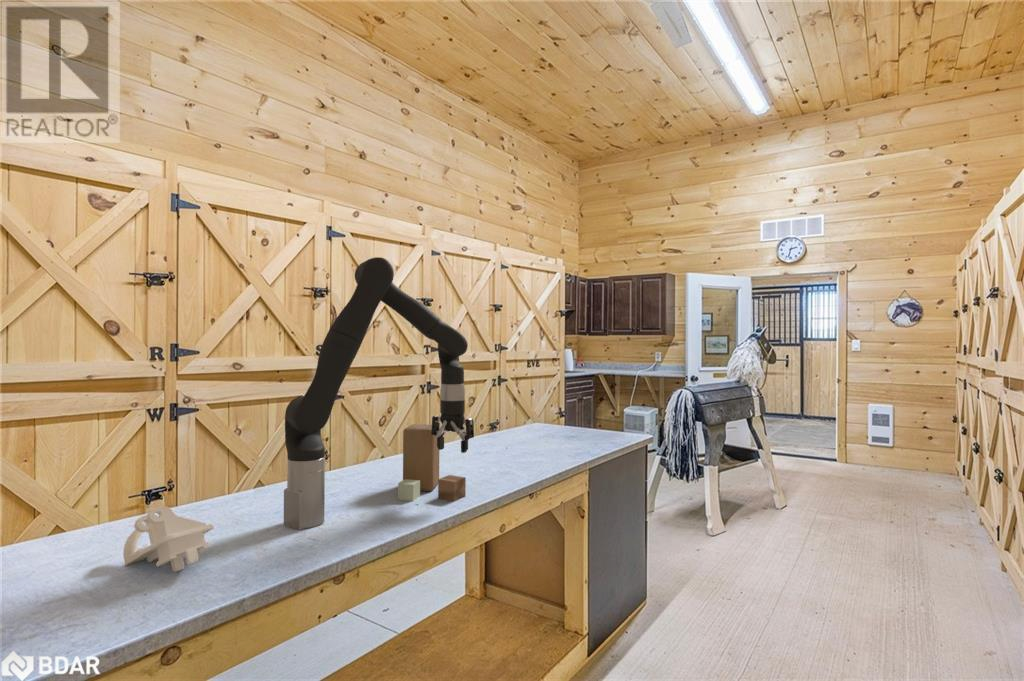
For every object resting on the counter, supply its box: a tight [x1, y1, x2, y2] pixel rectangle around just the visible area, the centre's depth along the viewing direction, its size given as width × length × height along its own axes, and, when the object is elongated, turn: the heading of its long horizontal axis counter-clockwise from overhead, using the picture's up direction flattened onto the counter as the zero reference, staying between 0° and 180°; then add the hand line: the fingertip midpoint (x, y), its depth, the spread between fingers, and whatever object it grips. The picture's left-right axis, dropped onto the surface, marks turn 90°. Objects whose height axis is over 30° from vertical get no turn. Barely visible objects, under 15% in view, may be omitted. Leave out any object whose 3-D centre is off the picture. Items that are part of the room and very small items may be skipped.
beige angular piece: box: [122, 505, 215, 573], centre depth 114 cm, size 20×11×13 cm, turn 57°
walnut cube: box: [437, 474, 467, 502], centre depth 165 cm, size 6×6×6 cm
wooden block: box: [402, 423, 441, 492], centre depth 175 cm, size 10×10×20 cm
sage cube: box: [397, 479, 421, 502], centre depth 164 cm, size 5×5×5 cm
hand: (452, 450), depth 165 cm, fingers open, 8 cm apart
